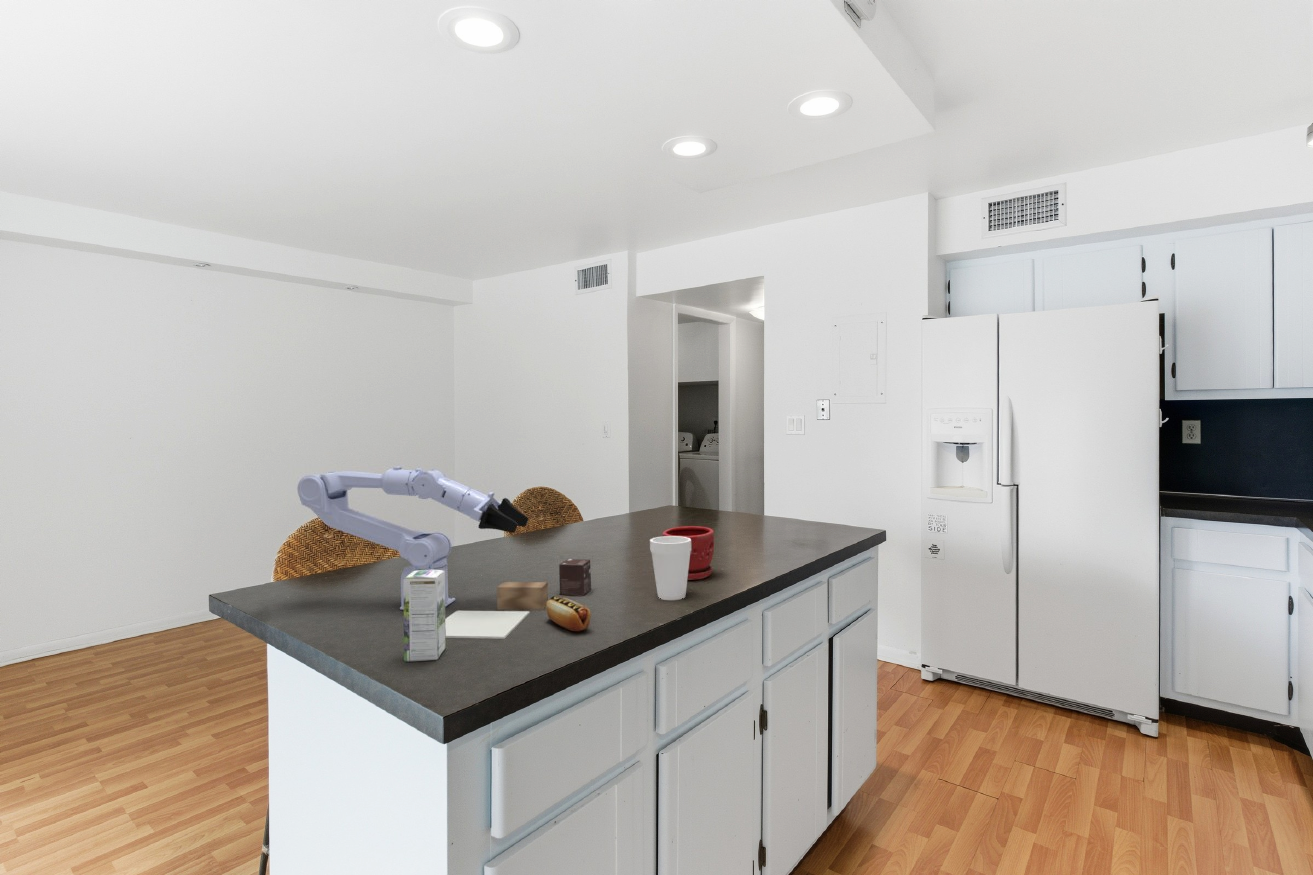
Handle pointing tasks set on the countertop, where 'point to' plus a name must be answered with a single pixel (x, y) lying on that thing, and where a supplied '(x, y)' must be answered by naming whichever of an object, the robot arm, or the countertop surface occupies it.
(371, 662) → the countertop surface
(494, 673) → the countertop surface
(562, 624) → the hot dog
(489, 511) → the robot arm
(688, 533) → the plant pot
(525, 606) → the wooden block
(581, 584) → the box
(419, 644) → the syrup box
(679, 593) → the foam cup
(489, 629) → the mat
